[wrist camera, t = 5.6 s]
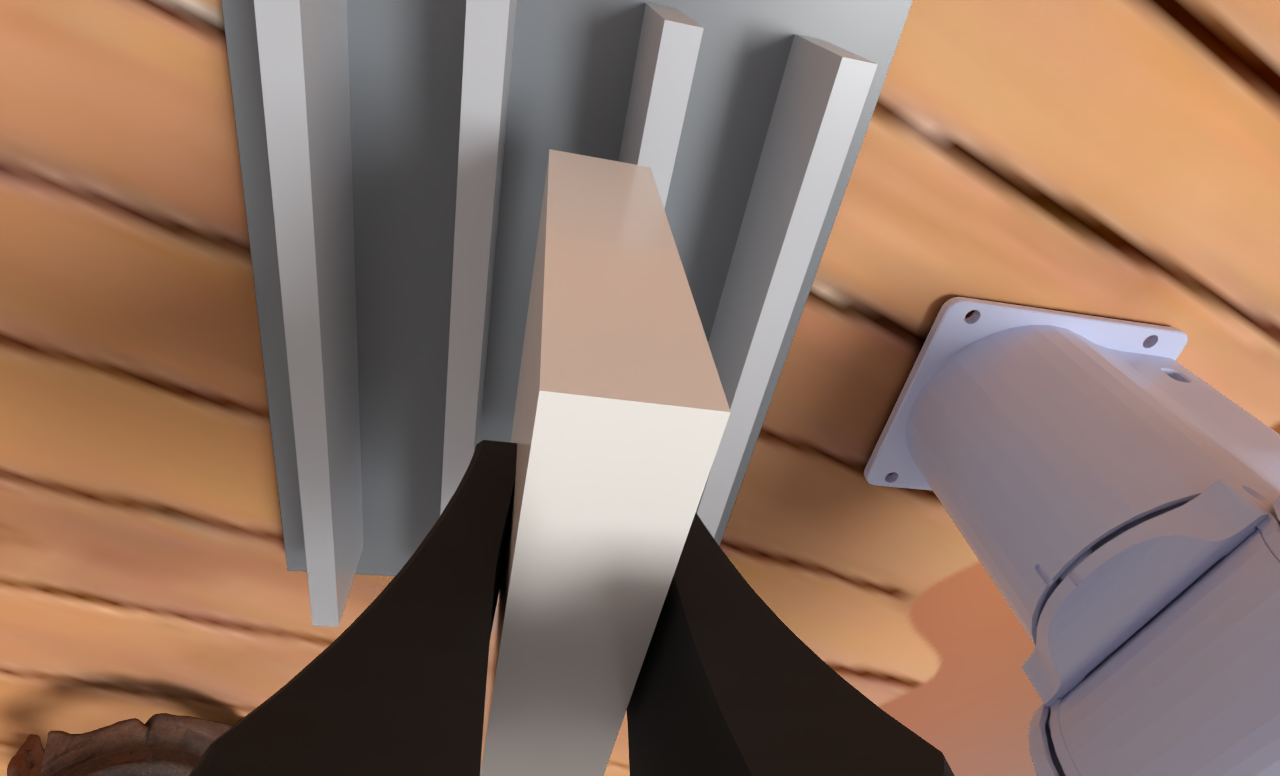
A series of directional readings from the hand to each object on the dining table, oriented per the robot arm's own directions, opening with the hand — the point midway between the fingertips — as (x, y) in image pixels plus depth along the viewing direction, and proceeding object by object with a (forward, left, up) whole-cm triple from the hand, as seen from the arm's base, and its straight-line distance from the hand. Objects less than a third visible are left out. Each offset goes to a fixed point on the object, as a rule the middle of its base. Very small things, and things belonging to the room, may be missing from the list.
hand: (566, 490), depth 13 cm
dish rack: (+1, +2, -10) cm, 10 cm away
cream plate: (0, 0, -4) cm, 4 cm away
